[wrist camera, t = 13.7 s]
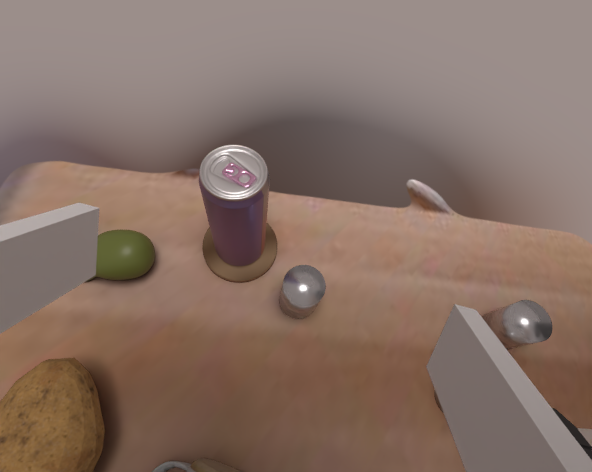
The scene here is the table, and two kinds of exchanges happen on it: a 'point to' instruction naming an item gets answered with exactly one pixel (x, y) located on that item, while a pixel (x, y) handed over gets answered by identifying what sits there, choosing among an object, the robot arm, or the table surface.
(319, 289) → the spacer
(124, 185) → the table surface
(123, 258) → the pear
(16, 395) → the potato
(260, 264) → the coaster
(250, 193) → the beverage can
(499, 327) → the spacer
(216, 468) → the ceramic mug
